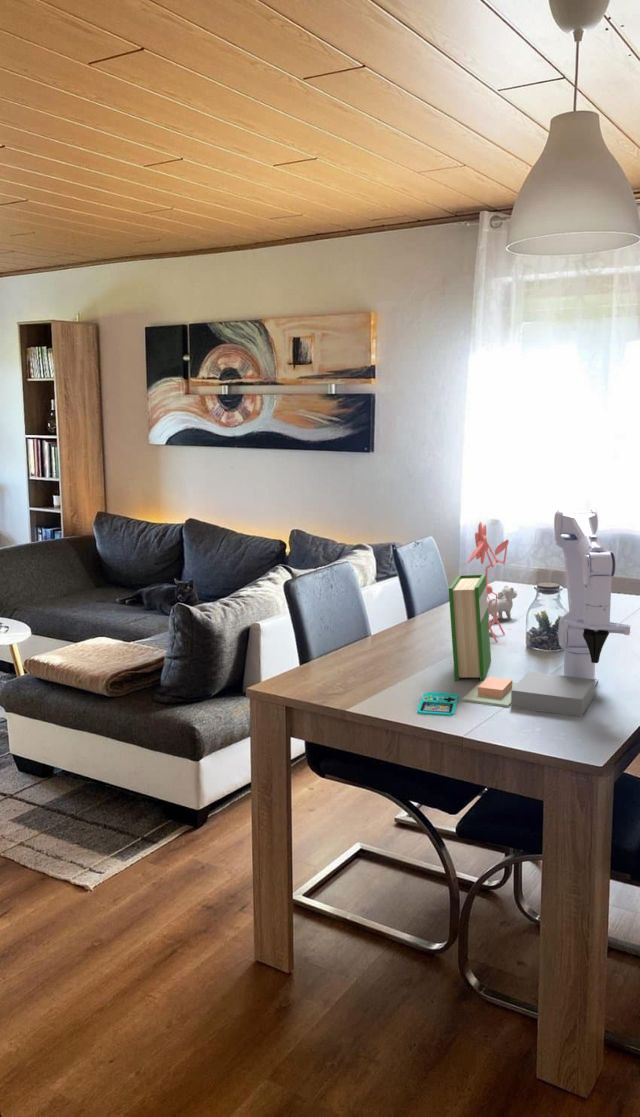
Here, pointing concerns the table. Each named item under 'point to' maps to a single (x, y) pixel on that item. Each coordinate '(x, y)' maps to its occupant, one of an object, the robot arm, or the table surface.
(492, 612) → the dog figurine
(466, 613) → the hardback book
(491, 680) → the terracotta tile
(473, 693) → the sage mat
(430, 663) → the table surface
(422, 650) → the table surface
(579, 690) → the block
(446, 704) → the handheld gaming console
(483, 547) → the figurine
